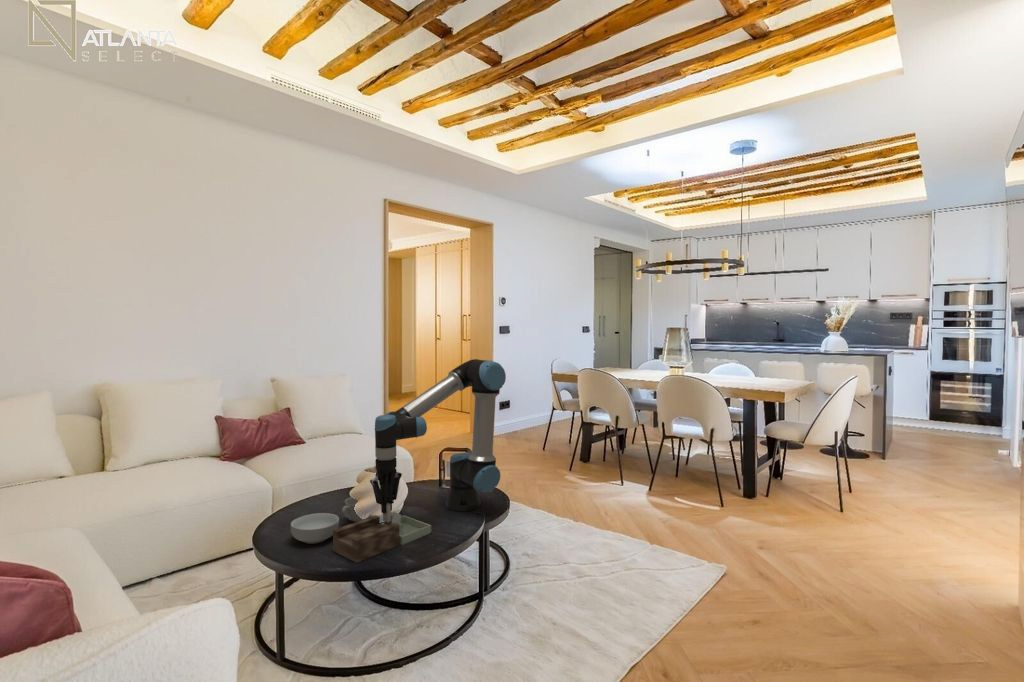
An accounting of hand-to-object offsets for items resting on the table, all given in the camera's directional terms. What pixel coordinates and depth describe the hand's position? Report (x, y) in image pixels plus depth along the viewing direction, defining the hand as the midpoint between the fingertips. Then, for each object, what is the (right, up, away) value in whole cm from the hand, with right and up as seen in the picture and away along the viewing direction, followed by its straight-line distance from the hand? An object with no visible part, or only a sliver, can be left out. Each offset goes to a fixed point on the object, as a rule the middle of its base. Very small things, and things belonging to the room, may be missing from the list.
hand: (386, 520), depth 191 cm
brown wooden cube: (+1, -2, +2) cm, 3 cm away
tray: (+5, -7, +6) cm, 11 cm away
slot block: (-6, -7, -7) cm, 11 cm away
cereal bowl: (-27, -7, +1) cm, 28 cm away
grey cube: (+1, -5, +2) cm, 5 cm away
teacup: (-17, -7, +19) cm, 26 cm away
